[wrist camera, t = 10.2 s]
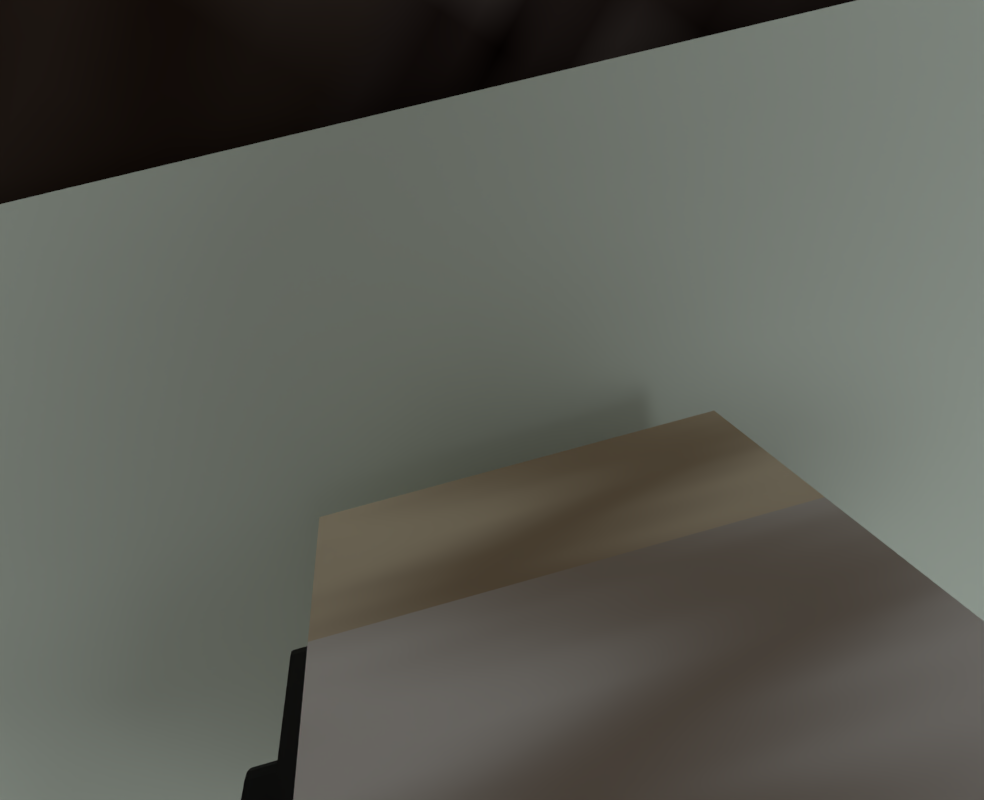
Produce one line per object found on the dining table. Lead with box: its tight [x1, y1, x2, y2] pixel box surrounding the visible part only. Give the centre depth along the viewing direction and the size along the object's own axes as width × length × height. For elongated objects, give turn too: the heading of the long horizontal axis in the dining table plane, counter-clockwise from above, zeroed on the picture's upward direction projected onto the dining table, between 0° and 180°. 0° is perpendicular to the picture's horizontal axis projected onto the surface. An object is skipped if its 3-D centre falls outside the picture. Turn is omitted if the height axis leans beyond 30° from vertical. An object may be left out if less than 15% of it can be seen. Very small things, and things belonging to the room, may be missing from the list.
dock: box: [0, 0, 984, 800], centre depth 16 cm, size 18×15×4 cm
